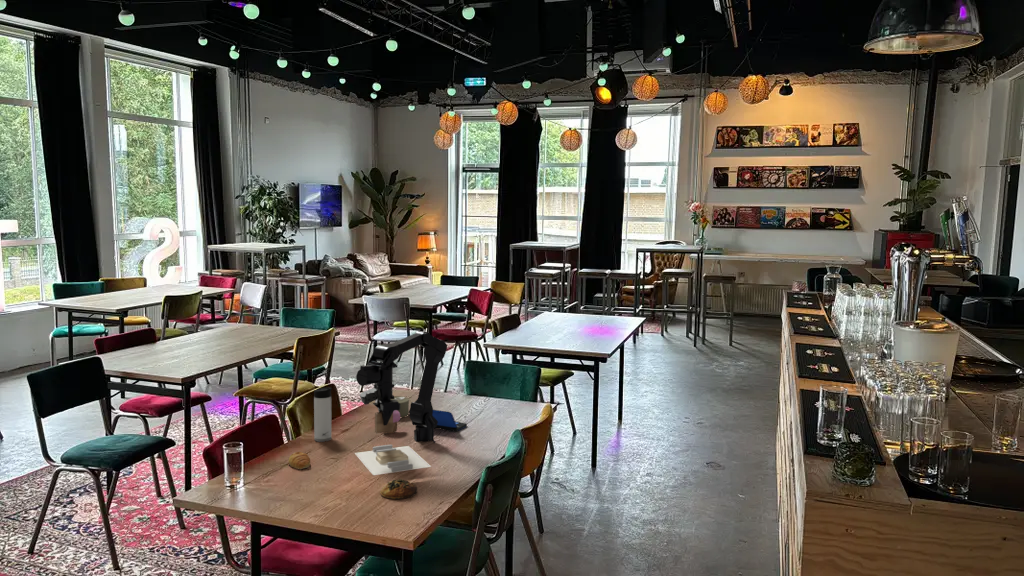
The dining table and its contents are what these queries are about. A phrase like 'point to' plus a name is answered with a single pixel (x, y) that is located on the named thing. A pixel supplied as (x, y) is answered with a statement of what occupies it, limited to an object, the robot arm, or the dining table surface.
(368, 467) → the rack
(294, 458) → the pastry
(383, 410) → the robot arm
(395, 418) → the cupcake
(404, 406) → the can
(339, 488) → the dining table surface
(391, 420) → the walnut panel
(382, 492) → the bread roll
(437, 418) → the handheld game console
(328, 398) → the travel mug
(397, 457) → the offcut stack
